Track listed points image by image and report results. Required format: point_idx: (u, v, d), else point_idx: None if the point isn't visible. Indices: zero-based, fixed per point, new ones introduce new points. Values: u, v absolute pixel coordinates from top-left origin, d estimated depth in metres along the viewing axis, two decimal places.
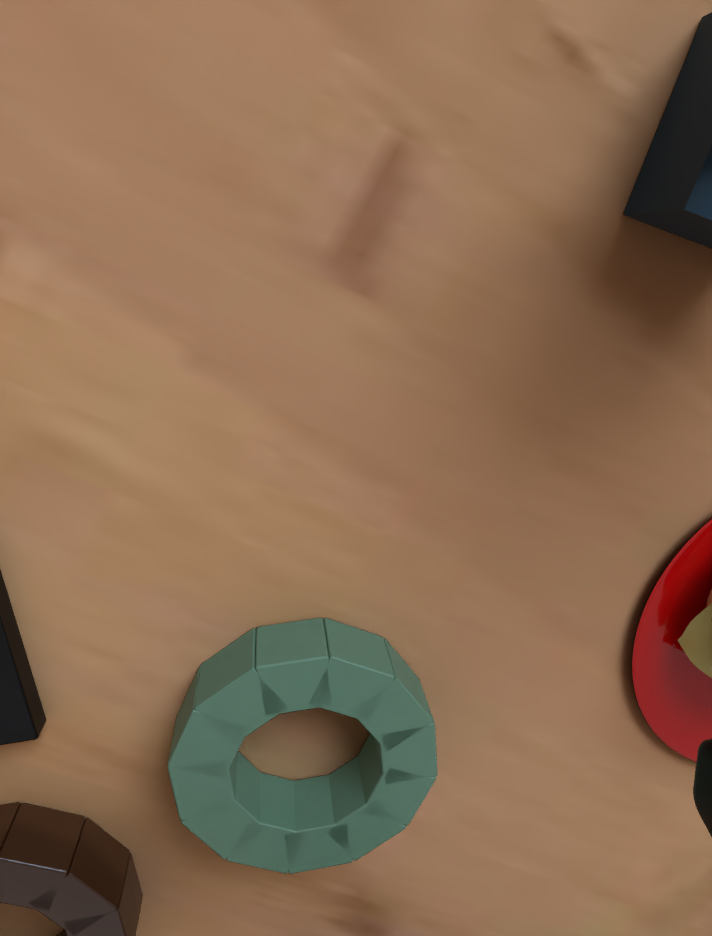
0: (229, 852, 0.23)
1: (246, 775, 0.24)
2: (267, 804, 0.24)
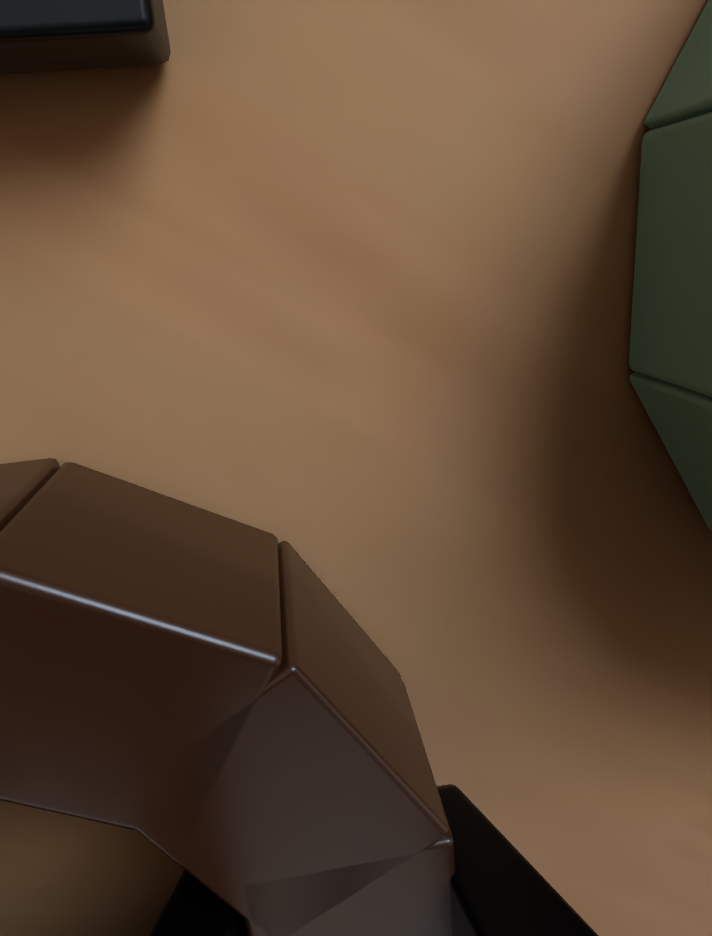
0: None
1: None
2: None
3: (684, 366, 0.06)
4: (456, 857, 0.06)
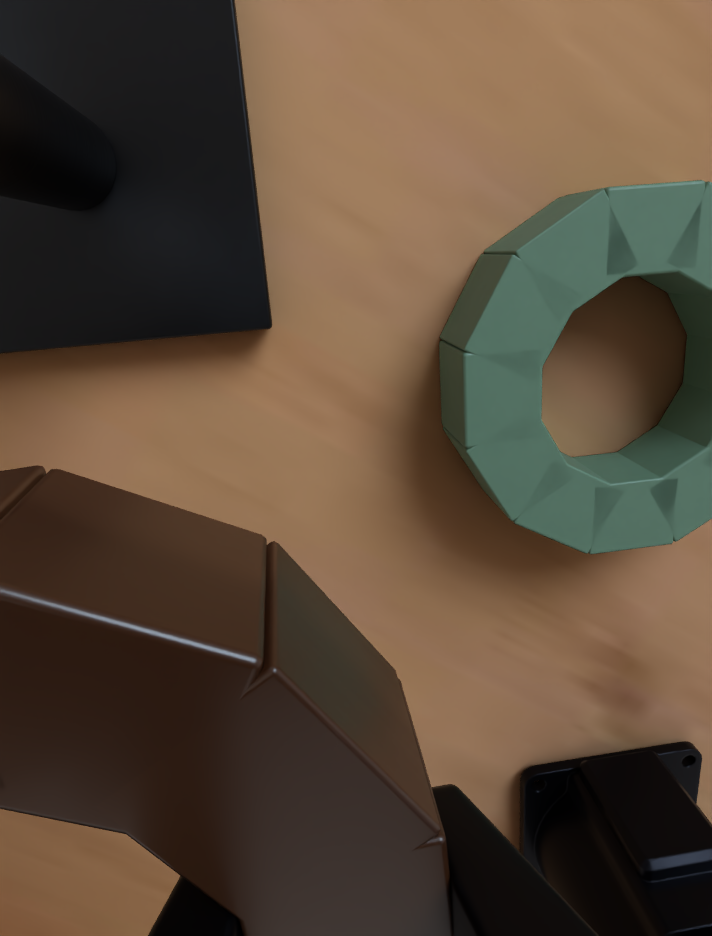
0: (521, 509, 0.17)
1: None
2: None
3: (450, 426, 0.17)
4: (456, 857, 0.06)
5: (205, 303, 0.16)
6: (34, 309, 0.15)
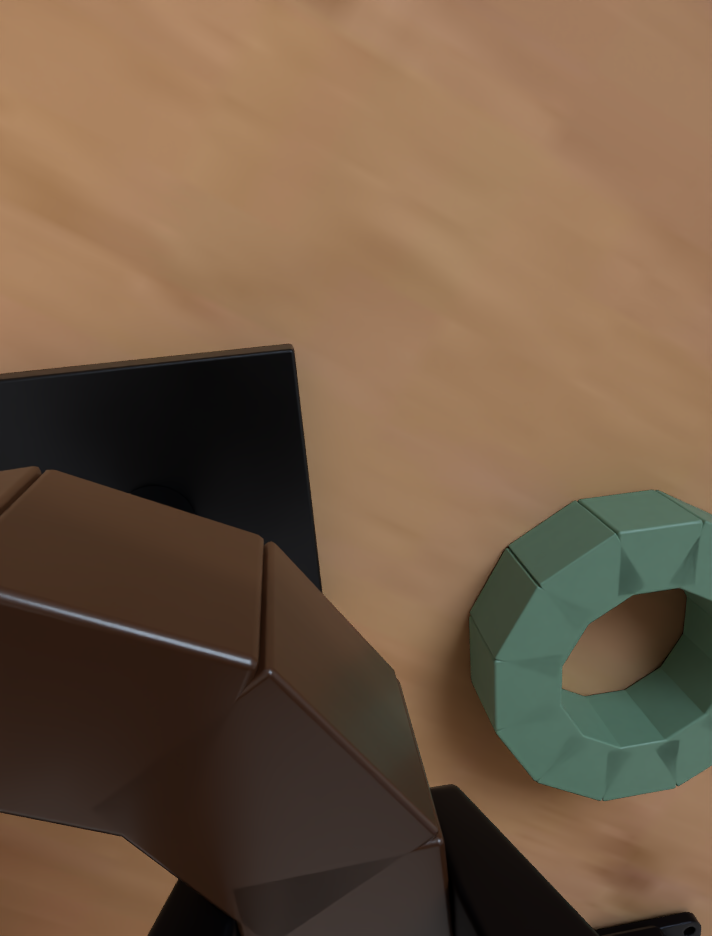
0: (543, 772, 0.19)
1: None
2: (578, 717, 0.20)
3: (480, 694, 0.20)
4: (457, 857, 0.06)
5: None
6: None
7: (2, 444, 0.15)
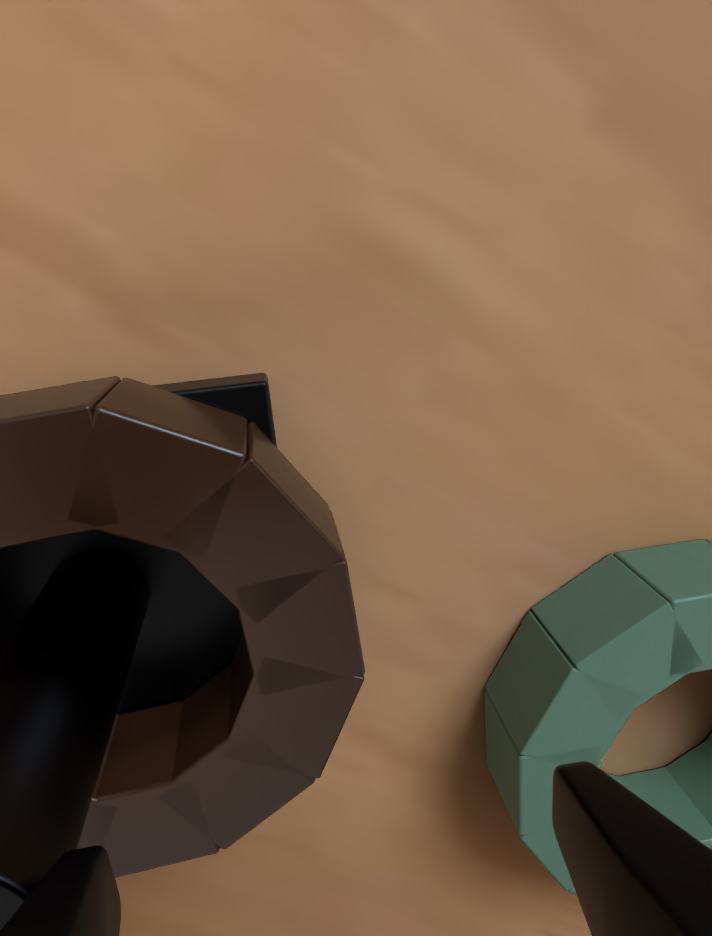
0: None
1: None
2: None
3: (499, 786, 0.16)
4: (614, 828, 0.06)
5: None
6: None
7: None
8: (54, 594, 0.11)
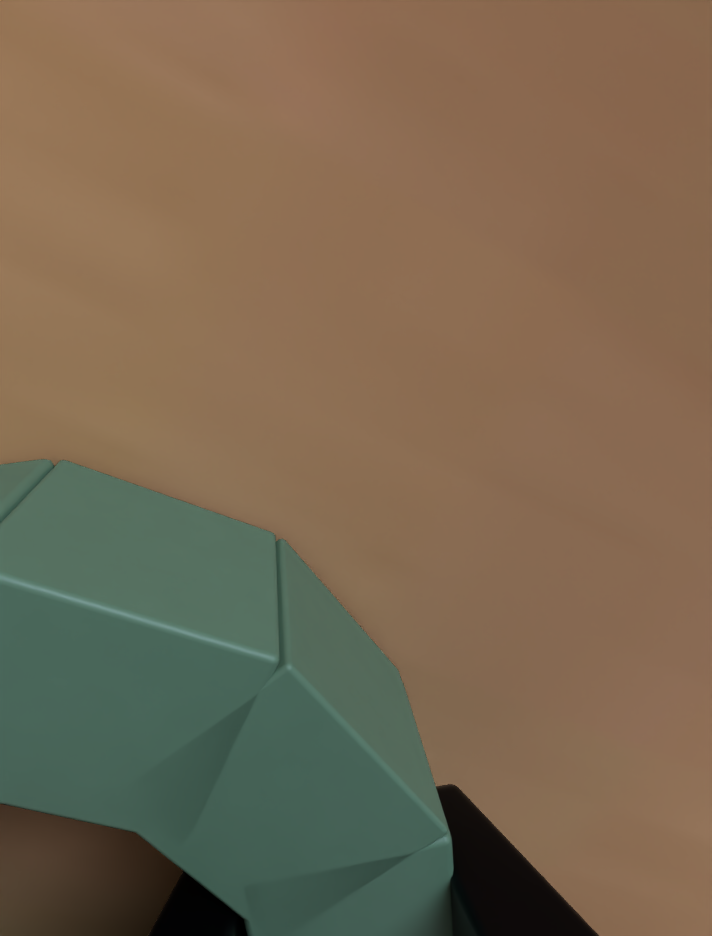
0: None
1: None
2: None
3: None
4: (456, 857, 0.06)
5: None
6: None
7: None
8: None
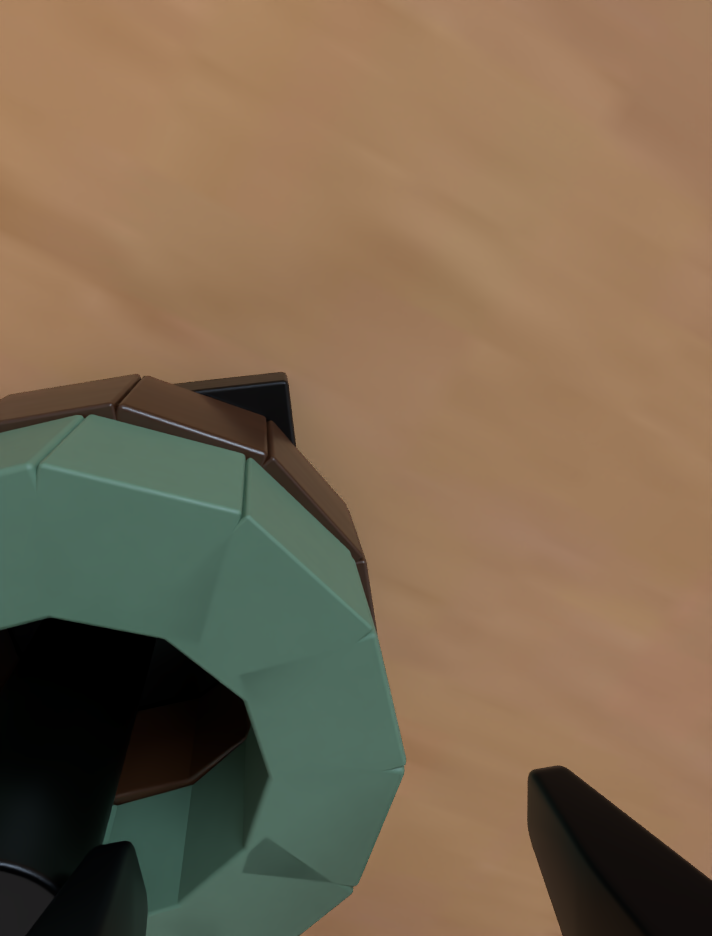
0: None
1: None
2: None
3: None
4: (584, 833, 0.06)
5: None
6: None
7: None
8: None
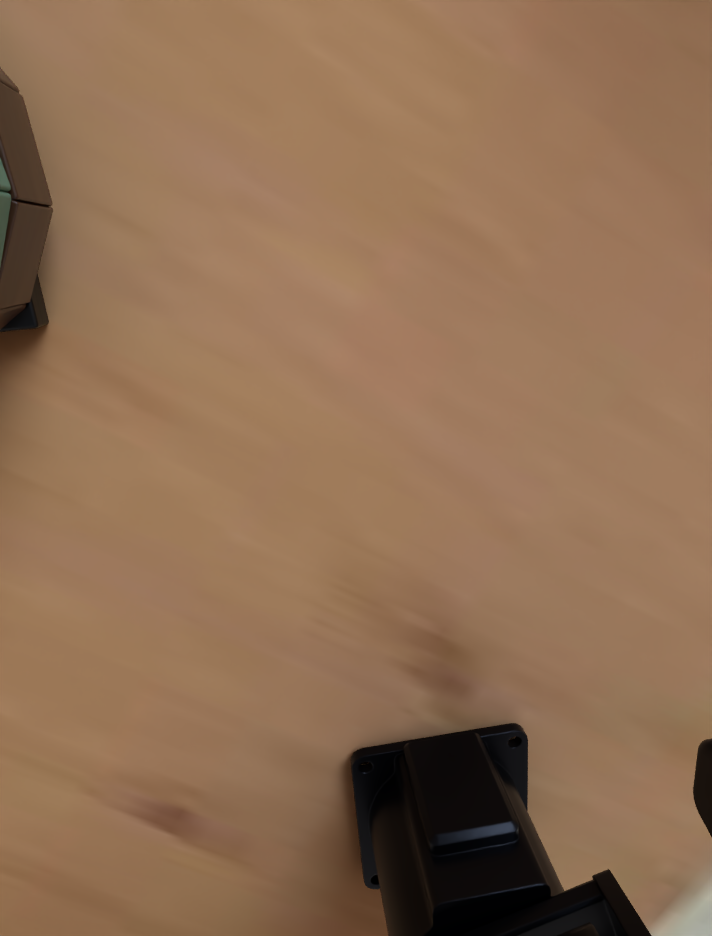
0: None
1: None
2: None
3: None
4: None
5: None
6: None
7: None
8: None
